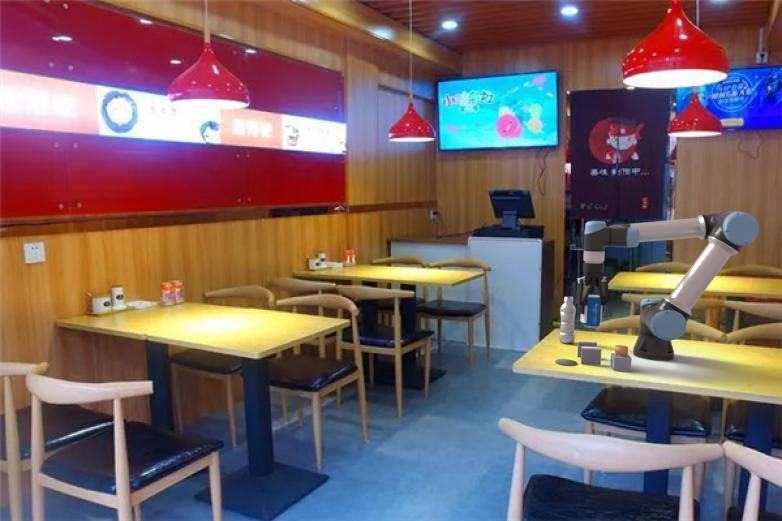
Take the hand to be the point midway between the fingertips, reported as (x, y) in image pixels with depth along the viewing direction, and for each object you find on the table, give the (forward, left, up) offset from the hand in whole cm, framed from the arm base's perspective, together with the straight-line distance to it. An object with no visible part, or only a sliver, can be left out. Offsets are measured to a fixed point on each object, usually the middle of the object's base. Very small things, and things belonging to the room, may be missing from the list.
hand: (591, 321), depth 235 cm
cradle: (0, 0, -15) cm, 15 cm away
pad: (+9, +5, -15) cm, 19 cm away
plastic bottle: (+5, -27, -16) cm, 32 cm away
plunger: (-10, +9, -14) cm, 20 cm away
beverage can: (0, 0, -2) cm, 2 cm away
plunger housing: (-10, +9, -15) cm, 20 cm away
